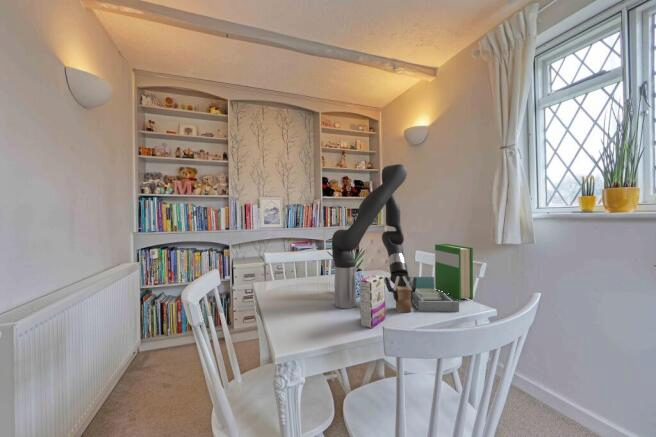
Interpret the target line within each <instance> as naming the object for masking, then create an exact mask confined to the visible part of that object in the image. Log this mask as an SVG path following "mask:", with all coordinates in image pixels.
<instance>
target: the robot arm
mask: <svg viewBox="0 0 656 437" xmlns="http://www.w3.org/2000/svg"><path fill="white" fill-rule="evenodd" d="M407 176H408V169H407V167H406V166H405V165H403V164H401V163H398V164H393V165H392V164H391V165H386V166H384V168H383V169H382V170H381V182H382V183H381V184H380V185H379V186H378V187H376V188H374V189H373V190H372V191H370V192H369V193H368V194H367V195H366V196H365V197H364V199H363V200H362V201H361V203H360V205H359V208H358V211H357V216H356V218H355V219H354V221H353V223H352V224H351V225H350V226H349V227H348V228H347V229H337V230H336V231H334V233H333V235H332V239H331V248H332V249H331V251H332V252H331V253H332V254H331V255H332V260H333V263H334V308H338V309H339V308H340V309H346V310H347V309H352V308H353V309H354V308H355V307H356V306H357V284H356V283H357V282H356V280H357V279H356V278H357V276H356V275H357V273H356V269H357V268H356V260H355V258H354V257H353V256H352V253H351V252H352V251H355V250H356V249H357V247H358V246H359V245H360V243H361V241H362V239H363V238H364V236H365V234H366V232H367V230H368V229H369V227H371V225H372V223H373V222H374V220H376V217H377V216H378V215H379V214H380V213H381V211H382V209H383V208H384V206H385V225H386V226H387V227H392V228H394V229H395V230H385V231H384V232H383V233H382V235H381V241H382V244H383V245H384V247H385V250H386V251H387V257H388V266H389V273H390V277H388V276H387V277H385V276H384V282H385V286H386V287H385V288H387V291H388V292H389V293H392V295H393V300H394V301H395V302H396V301H398V295H397V291H396V289H397V288H396V287H397V286H407V287H409V288H410V289H411V301H412V300H413V292H415V290H416V282H417V278H416V277H417V276H413V277H414V278H410V277H411V276H410V275H409V272H408V271H409V270H408V266H407V261H406V258H405V254H404V250H403V247H402V246H401V245H402V244H404V242H405V237H404V233H403V230H402V225H401V209H400V205H399V202H398V200H397V197H396V195H395V192H396V191H397V190H398V188H400V186H401V185H402V184H403V183H404V182H405V180H406V178H407ZM409 280H410V281H411V283H413V285H412V288H411V287H410V284H409ZM391 282H392V284H394V285H393V287H392V285H391Z"/></svg>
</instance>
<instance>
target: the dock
mask: <svg viewBox="0 0 656 437" xmlns="http://www.w3.org/2000/svg"><path fill="white" fill-rule="evenodd" d="M438 293H439V294H440V297H441V298H442V300H423V299H422V298H421V297H420V296H419V295H418V294H417V292H416V291H415V292H412V294H413V300H412V302H413V303H412V302H411V303H412V305H414V307H415V306H416V307H415V308H416V309H417V310H418V312H460V301H459V300H455V301H454V299H453V298H452V297H450V296H447V295H445V294H444V293H443V292H441V291H439V292H438Z"/></svg>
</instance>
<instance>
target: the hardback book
mask: <svg viewBox="0 0 656 437" xmlns="http://www.w3.org/2000/svg"><path fill="white" fill-rule="evenodd" d="M473 251H474V250H473V247H470V246H465V245H457V244H450V243H438V244H434V257H435V258H434V267H435V268H434V270H435V271H434V274H435V275H434V290H435V289H437V290H440V291H443V293H445V294H448V293H449V294H448V295H449V296H448V297H450V296H451V297H450V298H452V297H453V298H452V299H454V298H455V299H454V300H456V299H458V300H457V301H459V300H462V299H469V300H471V301H472V300H474V277H473V276H474V269H473V268H474V252H473Z"/></svg>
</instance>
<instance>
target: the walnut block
mask: <svg viewBox="0 0 656 437" xmlns="http://www.w3.org/2000/svg"><path fill="white" fill-rule="evenodd" d="M396 288H397V289H396V291H397V295H398V301H396V300H395V308H396V310H397V312H401V313H402V312H405V313H409V312H412V302H411V289H410V288H409V287H407V286H397V287H396Z"/></svg>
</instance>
